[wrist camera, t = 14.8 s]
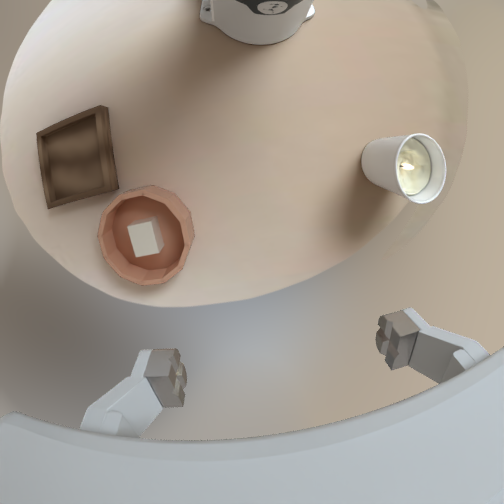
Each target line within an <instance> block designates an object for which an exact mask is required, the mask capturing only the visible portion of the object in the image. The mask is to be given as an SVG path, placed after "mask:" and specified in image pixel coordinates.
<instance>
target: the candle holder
mask: <svg viewBox="0 0 504 504" xmlns="http://www.w3.org/2000/svg"><path fill="white" fill-rule="evenodd" d="M361 164H362V169H363V172H364V174H365V176H366V177H367V178H368V180H369V181H371V182H372V183H373V184H375V185H377V186H379V187H382V188H384V189H386V190H389V191H391V192H393V193H395V194H398V195H400V196H402V197H404V198H406V199H408V200H410V201H411V202H414V203H417V204H425V203H428V202H431V201H432V200H434V199H435V198H436V197H437V196H438V195H439V193H440V192H441V190H442V188H443V185H444V182H445V178H446V162H445V158H444V154H443V152H442V150H441V148H440V146H439V145H438V143H437V142H436V141H435V140H434V139H433V138H431V137H430V136H428V135H425V134H421V133H416V134H412V135H403V136H394V137H386V138H379V139H375V140H373V141H371V142H370V143H368V144H367V146H366V147H365V148H364V150H363V153H362V158H361Z"/></svg>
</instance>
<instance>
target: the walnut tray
mask: <svg viewBox="0 0 504 504" xmlns="http://www.w3.org/2000/svg"><path fill="white" fill-rule="evenodd" d="M36 134H37V145H38V154H39V162H40V169H41V176H42V182H43V187H44V193H45V198H46V203H47V207H48V209H50V208H53V207H57V206H60V205H63V204H66V203H70V202H73V201H77V200H80V199H84V198H87V197H91V196H95V195H98V194H102V193H106V192H110V191H113V190H116V189H119V185H118V180H117V174H116V168H115V162H114V155H113V148H112V141H111V132H110V123H109V113H108V107H104V106H101V105H100V106H97V107H94V108H92V109H89V110H86V111H84V112H81V113H79V114H76V115H74V116H72V117H69V118H67V119H65V120H63V121H60V122H58V123H56V124H54V125H52V126H50V127H48V128H46V129H44V130H42V131H40V132H38V133H36Z"/></svg>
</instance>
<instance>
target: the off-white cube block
mask: <svg viewBox="0 0 504 504" xmlns="http://www.w3.org/2000/svg"><path fill="white" fill-rule="evenodd" d="M127 228H128V232H129V236H130V239H131V243H132V246H133V249H134V253H135V256H136V257H140V256H146V255H151V254H156V253H160V251H161V250H162V248H163V247H164V242H163V238H162V234H161V230H160V226H159V222H158V218H157V216H153V217H149V218H144V219H140V220H136V221H134V222H132V223H131V224H130V225H128V226H127Z"/></svg>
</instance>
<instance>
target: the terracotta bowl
mask: <svg viewBox="0 0 504 504" xmlns="http://www.w3.org/2000/svg"><path fill="white" fill-rule="evenodd" d="M153 216H157V218H158V222H159V226H160V230H161V234H162V238H163V242H164V247H163V248H162V250H161V251H160V253H156V254H151V255H146V256H140V257H136V256H135V253H134V249H133V246H132V243H131V239H130V236H129V232H128V228H127V226H128V225H130V224H131V223H132V222H134V221H136V220H140V219H144V218H149V217H153ZM194 236H195V234H194V229H193V223H192V218H191V212H190V211H189V210H188V208H187V207H186V206H185V205H184V204H183V202H182V201H181V200H180V199H179V198H178V196H177V195H176V194H175V193H173V192H170V191H167V190H165V189H162V188H159V187H156V186H154V185H151V186H146V187H142V188H137V189H133V190H129V191H127V192H125V193H122V194H120V195H118V196H117V198H116V199H115V200H114V201H113V202H112V203H111V204H110V205H109V206H108V207H107V208H106V209H105V210H104V211H103V213H102V217H101V221H100V226H99V231H98V239H99V243H100V246H101V250H102V253H103V257H104V259H105V261H106V262H107V263H108V264H109V265H110V266H111V267H112V268H113V270H114V271H115V272H116V273H117V274H118V275H119V276H120V277H122V278H124V279H127V280H129V281H131V282H134V283H136V284H139V285H142V286H143V285H152V284H160V283H165V282H166V281H168V280H169V279H170V278H171V277H173V276H174V275H175V274H177V273H178V272H179V271H180V270H182V269H183V266H184V263H185V261H186V258H187V256H188V253H189V250H190V247H191V245H192V242H193V239H194Z"/></svg>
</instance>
